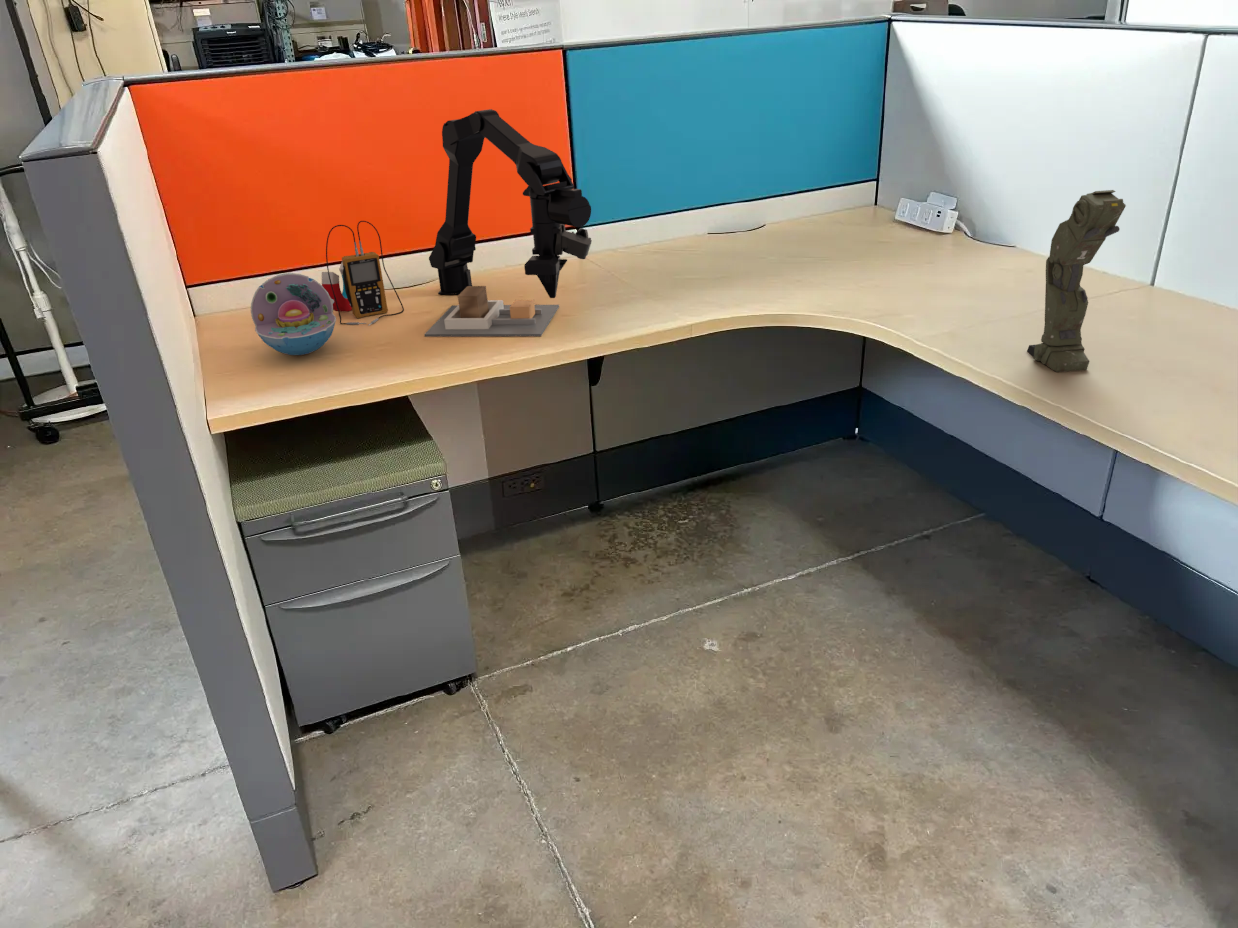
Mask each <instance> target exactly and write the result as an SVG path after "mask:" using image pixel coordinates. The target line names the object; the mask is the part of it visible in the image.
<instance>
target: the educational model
mask: <svg viewBox="0 0 1238 928" xmlns="http://www.w3.org/2000/svg"><path fill="white" fill-rule="evenodd" d="M333 303H334V300H333V299H331V298H330V296H329V294H328V292H327V291H326V290H325V289H324V287H323V286H322V283H319V282H318V281H317V280H316V279H314V278H311V277H309V276H308V275H305V274H301V273H293V272H292V273H291V272H288V273H282V274H281V273H280V274H277V275H275V276H272V277H270V278H268V279H267V280H266V281H264V282H263V283H262V284H261V285H259V286H258V287H257V289H256V290H255V292H254V294H253V296H252V300H251V303H250V314H251V319H252V322H253V324H254V326H255V327H254V329H255V330H254V331H255V332H256V334H257V335H258V336H259V338H260V339H261V341H262V342H264V343H265V345H267V346H268V347H270V348H271V349H273V350H275V351H277V352H280V353H282V354H285V355H289V356H305V355H306V354H307V355H308V354H311V353H313V352H315V351H317V350H319V349H320V348H321V347H323V346H324V345H325V344H326V343H327V342H328V340H329V339H330V338H331V336H332V335H333V332H334V329H335V325H336V321H337V318H336V315H335V314H334V310H333Z"/></svg>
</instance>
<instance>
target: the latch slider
mask: <svg viewBox="0 0 1238 928" xmlns="http://www.w3.org/2000/svg"><path fill="white" fill-rule="evenodd" d="M510 305H511V306H510V315H511V318H533V316H534V315H535V305H536V304H535V299H515V300H514V301H513V302H512V304H510Z"/></svg>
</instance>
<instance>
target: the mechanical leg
mask: <svg viewBox="0 0 1238 928" xmlns="http://www.w3.org/2000/svg"><path fill="white" fill-rule="evenodd" d="M1115 192H1116V191H1115V190H1114V189H1110V190H1109V189H1106V190H1095V191H1093V192H1089V193H1086V194H1082V195H1081V196H1080V197H1079V199H1078V200H1077V201H1076V202H1075V203H1074V206H1073V207H1072V212H1071V214H1070V215H1069V217H1068V219H1066V220H1064V221H1062V222H1060V223H1059V224H1058V227H1057V228H1056V231H1055V233H1054V234H1053V236H1052V239H1051V243H1050V250H1049V256H1048V257H1047V258H1046V260H1045V297H1044V298H1045V300H1044V302H1045V303H1044V328H1043V334H1042V335H1041V339H1040V343H1038V344H1029V345H1028V348H1027V350H1026V352H1028V354H1030V356H1032V357H1033V359H1034V360H1036V361H1038V362H1041V364H1043V365H1045V366H1047V367H1048V368H1049V369H1051V370H1052V371H1054V372H1055V373H1060V372H1061V373H1062V372H1063V373H1064V372H1074V371H1087V369H1088V368H1089V364H1090V359H1089V358H1088V356H1087V355H1086V353H1085V346H1083V343H1082V340H1083V339H1082V332H1081V330H1082V327H1083V323H1084V320H1085V317H1086V315H1087V314H1086V313H1087V310H1088V309H1087V308H1088V306H1089V300H1088V299H1089V298H1088V296H1087V292H1086V290H1085V288H1084V287H1082V286H1081V281H1082V278H1083V275H1084V266H1085V265H1088V264H1090V263H1091V262H1092V260H1093V259H1094V258H1095V255H1097V253H1098V252H1099V249H1100V248H1101V247H1102V245H1103V243H1104V242H1105V241H1106V239H1107V237H1109V236H1111V235H1114V234H1116V233H1119V232H1120V226H1119V225H1117V222H1118V221H1119V219H1120V217H1121V216H1122V214H1123V212H1124V211H1125V208H1126V207H1127V205H1126V203H1125V202H1124V199H1123V198H1118V197H1117V196H1116V195H1114V194H1113V193H1115Z"/></svg>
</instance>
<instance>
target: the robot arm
mask: <svg viewBox="0 0 1238 928" xmlns="http://www.w3.org/2000/svg"><path fill="white" fill-rule="evenodd" d="M441 129H442V130H441V136H442V137H441V138H442V139H441V140H442V148H443V150H444V151H445V154H446V156H447V157H448V159H449V160H448V176H447V177H448V178H447V190H446V191H447V192H446V204H445V205H446V207H445V220H444V222H443V224H442V225H441V227H440V228H439V229H438V231H437V233H436V237H435V244H434V246H433V249H432V251H431V253H430V255H429V257H428V260H429V265H430V267H431V268H434V269H436V270H437V274H438V282H439V287H440V289H439V291H438V292H437V293H438V295H459V294H460V293H461V292H462V291H463V290H464V289H465V288H466V287H467V286H473V281H472V274H471V269H469V268H468V264H470V263H473V261H474V253H475V251H476V249H477V248H476V240H477V235H476V234H475V233H473V231H472V230H471V228H470V226H469V217H470V216H469V214H470V204H471V203H470V202H471V192H472V182H473V169H474V162H475V161H476V160H477V158H478V157H479V155H480V154H481V152H482V151H483V147H484V146H483V145H484V141H485V139H486V140H488V141H489V142H490V143H491V144H492V145H494V146H495V147H496V148H497V149H498V150H499V151H500V152H502V153H503V154H504V155H505V156H506V157H507V158H509V160H511V161H512V162H513V163H514V164H515V165H516V166H515V167H516V168H515V169H516V172H517V174H518V176H519V177H520V178H521V179H522V181H523V182H524V183H525V184H526V185H527V187H526V188H525V189H524V190H523V191H522V196H524V197H529V203H530V212H531V213H530V214H531V215H530V216H531V227H530V228H529V232H530V234H531V235H532V237H533V246H534V247H533V248H532V250H531V252H532V254H531V255H532V256H531V257H530V258H529V259H528V260H527V261H526V262H525V264H524V275H526V276H537V278H538V279H539V281H540V283H541V284H542V286H543V288H544V290H545V292H546V293H547V296H548V297H549V298H550V299H555V298H556V297H557V291H558V283H559V278H560V272H561V271H562V269H563V268H564V266H565V265H566V263H567V262H568V259H567V258H561V256H562V255H564V254H563V253H565V254H567V255H570V256H575V257H576V258H577V259H580V260H586V259H587V256H588V255H589V251H590V248H591V244H592V238H591V237H590V236H589V233H588V229H585V228H583V227H584V226H586V225H587V223H588V222H589V221H590V218H591V216H592V215H591V214H592V206H591V204H590V202H589V200H588V198H586V197H585V196H583V190H582V189H581V188H575V185H574V183H573V181H572V177H571V176H570V175H569V173H568V171H567V170H566V167H565V166H564V164H563V161H562V158H561V157H560V156H559V155H558V153H556V152H554V151H553V150H551V149H549V148H547V147H545V146H541V145H537V144H533V143H532V142H530V141H529V140H528V139H527V138H526V137H524V136H523V135H522V134H521V133H519V132H518V131H517V130H516V129H515V128H514V127H513V126H511V125H510V124H509V123H508V122H506V121H505V120H504V119H503V118H502V117H501V116H500V115H499V113H498V111H497V110H494V109H492V108H489V109H482V110H475V111H474V112H472V113H470V114H469V115H467V116H464V117H462V118H458V119H451V120H447V121H446V122H445V123H443V125H442V128H441ZM566 226H569V227H574V228H579V229H578V230H577V231H576V232H575V231H567V230H566Z"/></svg>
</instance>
